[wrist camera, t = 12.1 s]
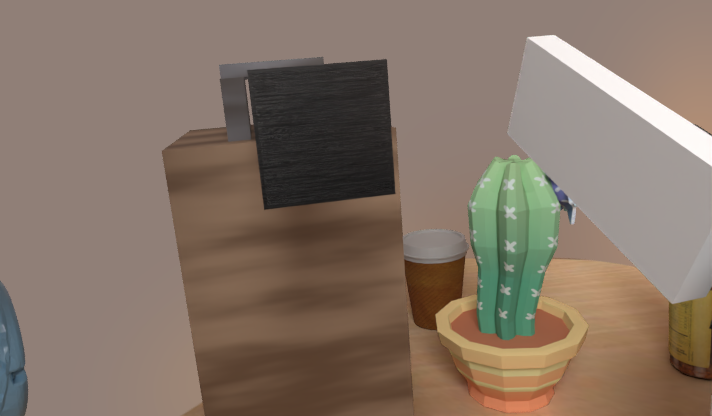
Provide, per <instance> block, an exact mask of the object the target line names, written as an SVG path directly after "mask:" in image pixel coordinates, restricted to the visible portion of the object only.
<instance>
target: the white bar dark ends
mask: <svg viewBox="0 0 712 416" xmlns="http://www.w3.org/2000/svg"><path fill="white" fill-rule="evenodd" d="M247 74H248V82H249V91H250V99H251V106H252V115H253V123H254V131H255V139H256V147H257V156H258V164H259V172H260V180H261V188H262V196H263V204H264V210H267V209H275V208H283V207H292V206H300V205H308V204H317V203H325V202H333V201H342V200H350V199H358V198H367V197H375V196H383V195H392V194H396V193H395V178H394V163H393V147H392V132H391V118H390V101H389V86H388V70H387V60H386V59H384V60H372V61H358V62H346V63H333V64H320V65H307V66H294V67H281V68H268V69H255V70H247Z"/></svg>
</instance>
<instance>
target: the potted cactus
mask: <svg viewBox="0 0 712 416" xmlns="http://www.w3.org/2000/svg"><path fill="white" fill-rule="evenodd" d="M576 207H578V206H577V205H576V204H575V203H574V202H573V201H572V200H571V199H570V198H569V197H568V196H567V195H566V194H565V193H564V192H563V191H562V190H561V189H560V188H559V187H558V186H557V185H556V184H555V183H554V182H553V181H552V180H551V179H550V178H549V176H548V175H547V174H546V173H545V172H544V171H543V170H542V169H541V168H540V167H539V166H538V165H537V164H536V163H535V162H534V161H533V160H532V159H531V158H527V159H526V160H521V159H520V158H519V157H518V156H517V155H512V156H511V157H510V158H508V160H505V159H501V158H499V157H495V158H494V159H493V160H492V162H491V163H490V165H489V166H488V168H487V169H486V171H485V172H484V173H483V175H482V176H481V178H480V179H479V181H478V182H477V185H476V187H475V189H474V191H473V194H472V196H471V199H470V201H469V204H468V216H469V229H470V241H471V246H472V249H473V252H474V255H475V258H476V262H477V265H478V287H477V294H475V295H471V296H468V297H464V298H461V299H457V300H453V301H451V302H450V303H448V304H447V305H446V306H445V307H444V308H443V309H441V310H440V311H439V312H438V313H437V314H435V315H436V323H437V331H438V334H439V338H440V341H441V344H442V345H443V346H445V347H446V348H448V349H449V351H450V354H451V356H452V358H453V361H454V363H455V365H456V368H457V369H458V371H459V372H460V373H461V374H462V375H463V376H464V377H465V379H466V380H467V381H468V382H467V384H468V389H469V394H470V396H471V397H473V398H474V399H475V400H476V401H478V402H479V403H480V404H482V405H483V406H485V407H488V408H492V409H495V410H499V411H502V412H505V413H513V412H532V411H534V410H536V409H539V408H541V407H544V406H546V405H548V404H549V402H550V400H551V398H552V397H553V395H554V390H553V386H554V385H555V384H556V383H557V382H558V381H559V380H560V379H561V377H562V375H563V374H564V372H565V370H566V368H567V367H568V365H569V362H570V360H571V358H573V357H575V356H576V355H577V353H578V351H579V349H580V348H581V346H582V344H583V342H584V341H585V338H586V335H587V331H588V328H589V326H588V324H587V323H586V321H585V320H584V319H583V317H582V316H581V315H580V313H579V312H578V311H577V309H575V308H572V307H570V306H568V305H566V304H563V303H561V302H559V301H556V300H554V299H552V298H549V297H544V296H540V292H541V288H542V284H543V279H544V275H545V272H546V269H547V267H548V265H549V263H550V261H551V259H552V257H553V255H554V253H555V251H556V249H557V244H558V232H559V218H560V210H562V209H563V208H564V211H567V212H568V216H569V221H570V224H574V221H575V214H576Z"/></svg>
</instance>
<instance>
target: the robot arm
mask: <svg viewBox="0 0 712 416" xmlns="http://www.w3.org/2000/svg"><path fill="white" fill-rule="evenodd" d="M507 134H508V135H509V136H510V137H511V138H512V139H513V140H514V141H515V142H516V143H517V144H518V146H520V147H521V149H522V150H524V152H525V153H526V154H527V155H528V156H529V157H530V158H531V159H532V160H533V161H534V162H535V163H536V164H537V165H538V166H539V167H540V168H541V169H542V170H543V171H544V172H545V173H546V174H547V175H548V176H549V178H550V179H551V180H552V181H553V182H554V183H555V184H556V185H557V186H558V187H559V188H560V189H561V190H562V191H563V192H564V193H565V194H566V195H567V196H568V197H569V198H570V199H571V200H572V201H573V202H574V203H575V204H576V205H577V206H578V207H579V208H580V209H581V211H582V212H583V213H584V214H585V215H586V216H587V217H588V218H589V219H590V220H591V221H592V222H593V223H594V224H595V225H596V226H597V227H598V228H599V229H600V230H601V231H602V232H603V233H604V234H605V235H606V236H607V237H608V238H609V239H610V241H611V242H612V243H613V244H614V245H615V246H616V247H617V248H618V249H619V250H620V251H621V252H622V253H623V254H624V255H625V256H626V257H627V258H628V259H629V260H630V261H631V262H632V263H633V264H634V265H635V266H636V267H637V268H638V269H639V271H640V272H641V273H642V274H643V275H644V276H645V277H646V278H647V279H648V280H649V281H650V282H651V283H652V284H653V285H654V286H655V287H656V288H657V289H658V290H659V291H660V292H661V293H662V294H663V295H664V296H665V297H666V298H667V299H668V300H669V301H670V303H671V304H675V303H680V302H684V301H689V300H694V299H698V298H703V297H706V296H707V294H708V292H709V291H710V289H711V287H712V135H711V134H710V133H708V132H707V131H705V130H704V129H702V128H701V127H699V126H697V125H695V124H692V123H690V122H689V121H687V120H685V119H684V118H683V117H681V116H679V115H678V114H676V113H675V112H673V111H672V110H670V109H668V108H667V107H665V106H664V105H662V104H661V103H659V102H658V101H656V100H655V99H653V98H651V97H650V96H648V95H647V94H645V93H644V92H642V91H640V90H639V89H637V88H636V87H634V86H633V85H631V84H630V83H628V82H626V81H625V80H623V79H622V78H620V77H619V76H617V75H615V74H614V73H613V72H611V71H609V70H607V69H606V68H605V67H603V66H602V65H600V64H599V63H597V62H595V61H594V60H592V59H591V58H589V57H587V56H586V55H584V54H583V53H581V52H580V51H578V50H577V49H575V48H574V47H572V46H571V45H569V44H567V43H566V42H564V41H563V40H561V39H560V38H558V37H557V36H555V35H551V36H539V37H527V41H526V46H525V51H524V55H523V60H522V66H521V70H520V75H519V80H518V84H517V89H516V94H515V99H514V104H513V108H512V113H511V118H510V123H509V128H508V133H507ZM709 329H712V320H711V323H710V327H709ZM24 366H25V354H24V347H23V342H22V337H21V332H20V328H19V324H18V320H17V316H16V313H15V310H14V307H13V304H12V301H11V298H10V296H9V294H8V291H7V290H6V288H5V286H4V285H3V283H2V282H1V281H0V416H24V415H25V412H26V408H27V401H28V382H27V376H26V372H25V370H24Z"/></svg>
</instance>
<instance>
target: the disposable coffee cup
mask: <svg viewBox="0 0 712 416" xmlns="http://www.w3.org/2000/svg"><path fill="white" fill-rule="evenodd" d="M403 249H404V265H405V276H406V281H407V286H408V292H409V297H410V302H411V307H412V312H413V317H414V322H415V324H417V325H418V326H420V327H422V328H426V329H433V330H437V323H436V315H435V314H437V313H438V312H439V311H440V310H441V309H443V308H444V307H445V306H446V305H447V304H448V303H450V302H451V301H453V300H457V299H461V296H462V286H463V275H464V265H465V255H466V253H467V250H468V249H469V245H468V243H467V242H466V240H465V236H464V235H463V234H462V233H460V232H457V231H453V230H445V229H427V230H420V231H415V232H411V233H408V234H406V235H404V236H403Z"/></svg>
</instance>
